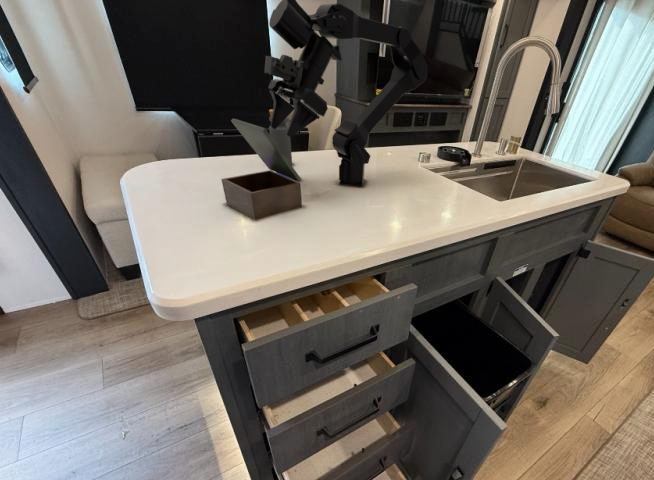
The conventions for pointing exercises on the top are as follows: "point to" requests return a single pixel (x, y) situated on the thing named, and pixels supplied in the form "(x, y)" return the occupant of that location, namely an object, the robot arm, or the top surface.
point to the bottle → (281, 138)
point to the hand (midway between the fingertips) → (280, 132)
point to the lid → (266, 148)
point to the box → (262, 194)
